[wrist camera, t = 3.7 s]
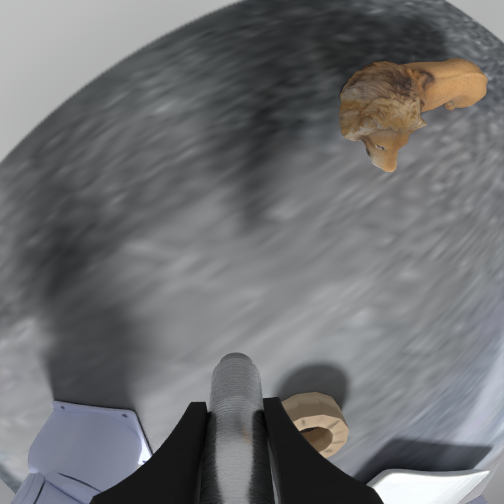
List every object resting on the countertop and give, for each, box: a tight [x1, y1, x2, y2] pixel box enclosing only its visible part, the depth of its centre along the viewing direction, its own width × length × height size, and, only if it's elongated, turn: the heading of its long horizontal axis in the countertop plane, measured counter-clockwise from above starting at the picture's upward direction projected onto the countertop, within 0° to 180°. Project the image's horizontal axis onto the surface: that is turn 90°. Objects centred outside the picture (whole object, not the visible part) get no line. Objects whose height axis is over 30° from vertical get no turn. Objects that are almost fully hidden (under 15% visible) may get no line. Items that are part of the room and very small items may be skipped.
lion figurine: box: [339, 58, 487, 172], centre depth 15 cm, size 15×5×9 cm, turn 122°
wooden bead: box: [281, 392, 349, 458], centre depth 23 cm, size 6×6×3 cm
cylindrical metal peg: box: [199, 353, 275, 504], centre depth 11 cm, size 2×2×10 cm
